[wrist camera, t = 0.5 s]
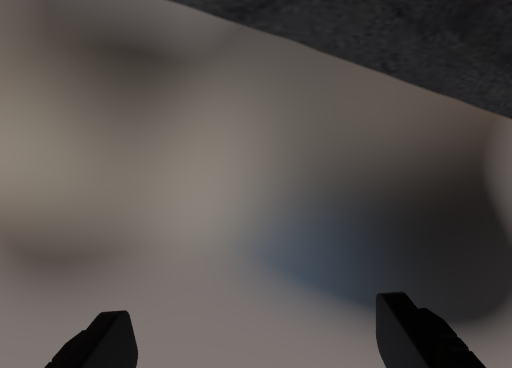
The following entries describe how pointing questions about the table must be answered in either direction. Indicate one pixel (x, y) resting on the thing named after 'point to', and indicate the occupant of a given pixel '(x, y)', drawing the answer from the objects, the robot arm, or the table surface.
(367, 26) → the table surface
